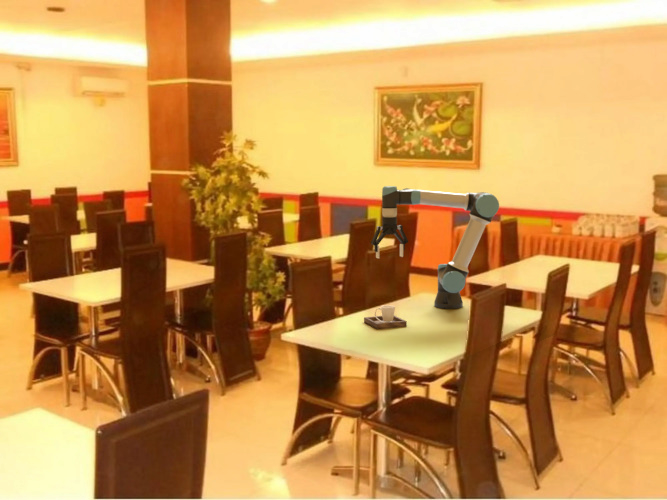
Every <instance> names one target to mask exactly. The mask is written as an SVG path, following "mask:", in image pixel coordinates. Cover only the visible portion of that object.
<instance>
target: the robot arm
mask: <svg viewBox="0 0 667 500" xmlns="http://www.w3.org/2000/svg"><path fill="white" fill-rule="evenodd" d="M381 190H382V192H381V195H382V196H381V204H382V205H381V206H382V208H381V211H382V215H381V216H382V217H381V220H382V221H381V223H382V226H379V225H377V226H376V229H375V230H376V231H375V232H374V234H373V237H372V239H371V241H370V245H373V246H374V247H373V249H374V250H373V251H374V252H375V258H376V259H380V245H379V244H380V243H381V242H382V241H383V239H384V237H385V236H386V235H387V236H388V235H389V236H390V235H394V236H395V237H396V239H397V240H398V241H399V257H401V258H403V257H404V251H405V250H406V248H405V247H406V244H407V243H409V240H408V237H407V235H406V233H405V231H404V227H403V225H402V224H398V217H397V215H398V205H399V206H400V205H403V206H406V205H407V206H409V205H410V206H411V205H413V206H414V205H425V206H435V207H436V206H437V207H445V208H455V209H463V210H464V211H467V212H469V213H468V215H469V217H470V218H469V221H468V224H467V226H466V228H465V230H464V232H463V235H462V238H461V239H460V241H459V244H458V246H457V249H456V251H455V252H454V255H453V258H452V260H451V261H449V262H447V263H440V264H438V266H437V293H436V296H435V299H434V302H433V303H434V305H433V306H434V307H435V308H437V309H444V308H445V310H450V309H451V310H452V309H453V308H455V309H460V307H461V308H463V305H464V303H463V300H462V295H461V293H460V292H461V291H462V290H463V289H464V288H465V286H466V279H467V276H468V274H469V273H470V271H469V269H468V268H469V264H470V262H471V261H472V258H473V256H474V254H475V251H476V249H477V247H478V245H479V242H480V240H481V237H482V236H483V234H484V231H485V229H486V226H487V225H489V224H491V223H492V220H493V218H494V216H495V215H496V214H497V213H498V211H499V210H500V203H499V202H500V201H499V199H498V198H497V197H496V196H495V195H494V194H492V193H489V192H484V191H483V192H482V191H481V192H467V191H466V193H457V192H456V193H455V192H445V191H434V190H425V189H413V188H407V187H406V188H403V189H398V188H397V186H395V185H392V186H391V185H386V186H385V185H384V186H383V187H382V189H381ZM397 230H398V231H399V232H398V231H397ZM381 231H382V232H381ZM380 232H381V233H380ZM399 233H400V234H399ZM453 310H454V309H453Z"/></svg>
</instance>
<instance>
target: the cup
mask: <svg viewBox="0 0 667 500" xmlns="http://www.w3.org/2000/svg"><path fill="white" fill-rule="evenodd" d="M378 310H380V311H381V316H382V317H383V320H384V321H385V322H382V321H380V320H379V319H378V318H377V317H376V316H377V311H378ZM395 312H396V306H395V305H390V304H385V305H380V307H378V308H376V309H375V312H374V316H375V317H376V319H378V320H379V321H380V322H382V323H387V322H391V321H393V318H394V316H395Z"/></svg>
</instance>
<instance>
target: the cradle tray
mask: <svg viewBox="0 0 667 500" xmlns="http://www.w3.org/2000/svg"><path fill="white" fill-rule="evenodd" d="M376 317H377V318H378V319H379V320H380V321H382V322H385V321H384V320H383V317H382V315H376ZM376 317H375V315H374V316H366V317H365V316H364V317H363V323H364V324H366V325H369V326H370V327H372V328H374V329H375V330H384V329H393V328H402V327H407V320H405V319H402V318H401V317H398V316H397V315H394V318H393V321H391V322H387V323H382V322H380V321H379V320H378V319H376Z"/></svg>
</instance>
